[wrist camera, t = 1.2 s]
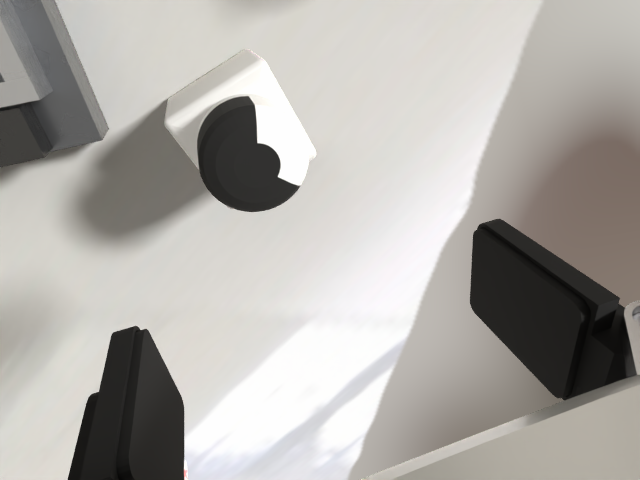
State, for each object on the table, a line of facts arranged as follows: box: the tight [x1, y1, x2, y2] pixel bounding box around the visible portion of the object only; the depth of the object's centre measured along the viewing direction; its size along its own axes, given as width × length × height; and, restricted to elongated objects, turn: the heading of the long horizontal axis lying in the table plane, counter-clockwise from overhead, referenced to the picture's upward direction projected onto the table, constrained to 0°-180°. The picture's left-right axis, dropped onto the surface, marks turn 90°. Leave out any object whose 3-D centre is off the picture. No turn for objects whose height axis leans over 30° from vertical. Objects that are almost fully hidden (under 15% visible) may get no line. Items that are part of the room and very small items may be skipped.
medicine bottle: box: [164, 49, 316, 212], centre depth 27 cm, size 7×7×12 cm
